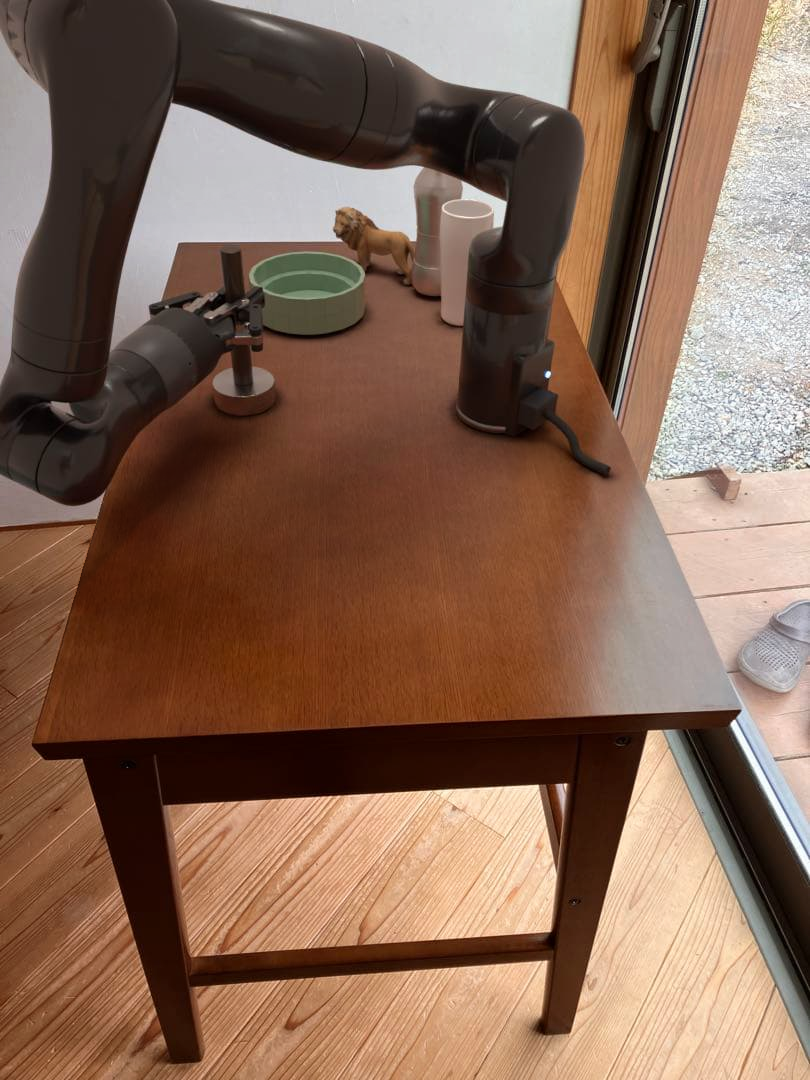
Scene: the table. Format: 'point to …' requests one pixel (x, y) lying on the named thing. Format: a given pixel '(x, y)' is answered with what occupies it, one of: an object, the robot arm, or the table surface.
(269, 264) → the bowl
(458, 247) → the drinking glass
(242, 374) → the peg stand
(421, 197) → the plastic bottle
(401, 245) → the lion figurine
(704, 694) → the table surface
